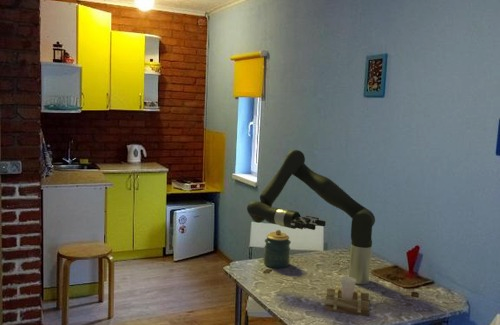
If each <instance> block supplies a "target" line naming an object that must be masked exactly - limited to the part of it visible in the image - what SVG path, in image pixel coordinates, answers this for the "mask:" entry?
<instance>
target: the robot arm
mask: <svg viewBox="0 0 500 325" xmlns="http://www.w3.org/2000/svg"><path fill="white" fill-rule="evenodd" d="M305 161H306V157H305V154H304V152H302V151H301V150H299V149H293V150H291V151H289V152H287V155H286V156H285V158H284V161H283V162H282V164H281V166H280V168H279V169H278V171H277V173H276V174H275V175H274V176H273V178H272V179H271V180H270V181H269V183H268V184H267V185H266V187H264V190H262V192H261V193H260V195H259V199H260V201H257V200H255V201H251V202H250V203H249V202H248V205H247V207H246V211H247V213H248V215H249V216H250V218H251V219H252V220H253V221H254V223H257V224H258V223H262V222H264V221H266V222H268V223H269V224H274V225H278V226H280V227H284V228H289V229H292V230H293V229H294V230H296V229H299V230H303V229H304V230H306V229H308V230H313V231H315V230H316V226H320V227H325V226H326V220H321V219H319V217H315V216H310V215H306V216H301V214H300V212H299V211H297V210H296V211H295V210H290V209H285V208H278V207H273V204H274V203H275V201H276V200H277V198H278V197H279V196H280V194H281V193H282V191H283V190H284V188H285V186H286V185H287V182H289V179H290V178H291V176H294V177H296V178H297V179H298V180H300V181H301V182H303V183H304V184H305V185H306V186H308V187H309V189H310V190H312V191H313V192H314V193H315V194H317V195H318V196H319V197H320V198H321V199H322V200H324V201H325V202H326V203H327V204H329V205H331V206H333V207H335V208H337V209H339V210H341V211H343V212H344V213H346V215H348V216H349V217H350V218H351V227H350V240H351V242H350V243H351V244H350V252H349V253H350V256H349V266H348V267H349V270H348V277H352V278H355V279H356V284H355V285H367V284H369V282H370V273H371V260H372V259H371V258H372V248H373V238H372V234H373V226H375V223H376V217H375V215H374V213H373V212H372V211H371V210H369V209H368V208H367V207H365V206H364V205H362V204H360V203H359V202H357V201H356V199H355V200H354V199H353V198H352V197H351V196H350V194H348V193H347V192H345V190H344V189H342V188H341V187H340V186H339V185H338V184H337V183H335V182H334V181H333V180H331V179H330V178H329V177H327V176H324V175H321V174H319V173H316V172H314V170H312V169H311V168H310V167H308V166H307V164H306V163H305Z"/></svg>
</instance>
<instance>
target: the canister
mask: <svg viewBox="0 0 500 325" xmlns="http://www.w3.org/2000/svg"><path fill="white" fill-rule="evenodd" d="M264 242H265V245H264V246H263V247H264V252H263V253H264V254H263V264H264V265H265V266H266V267H269V268H273V269H284V268H287V267H289V264H290V256H291V248H290V244H291V240H290V236H289V235H288V234H286V233H284V232H281V230H280V229H276V230H275V231H274V232H270V233H268V234H267V235H266V238H265V239H264Z"/></svg>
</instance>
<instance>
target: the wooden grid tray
mask: <svg viewBox="0 0 500 325" xmlns="http://www.w3.org/2000/svg"><path fill="white" fill-rule="evenodd" d="M369 296H370V293H369V292H364V291H362V290H361V289H360V288H357V291H355V290H354V292H353V297H352V299H344V298H342V292H341V288H340V289H339V286H338V285H336V286H334V287H333V288H331V287H327V288H326V296H325V306H324V311H326V312H327V311H328V312H336V313H344V314H351V315H357V316H363V317H364V316H366V317H370V303H371V302H370V301H369V299H370V298H369Z"/></svg>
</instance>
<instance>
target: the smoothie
mask: <svg viewBox="0 0 500 325" xmlns="http://www.w3.org/2000/svg"><path fill="white" fill-rule="evenodd" d="M355 285H357V284H356V279H355V278H352V277H349V268H348V267H347V268H346V276H341V277H340V286H341V288H340V289H341V292H342V298H344V299H352V297H353V292H354V291H355Z"/></svg>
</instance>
